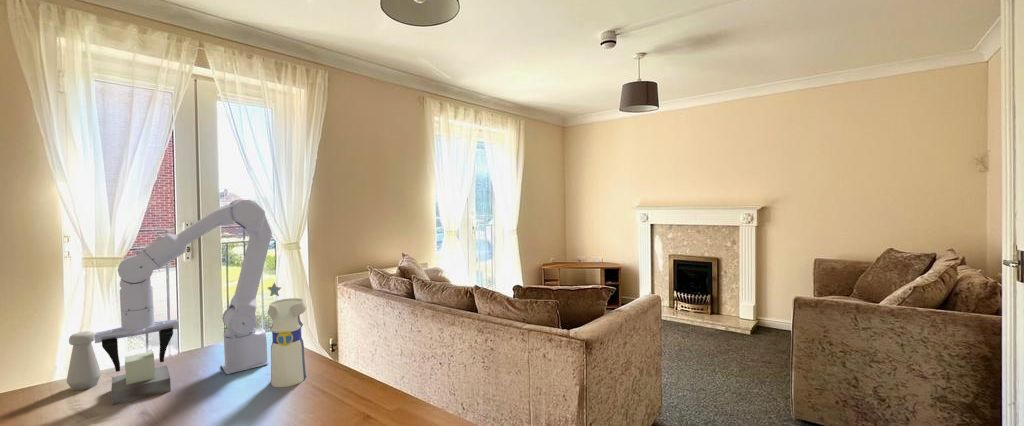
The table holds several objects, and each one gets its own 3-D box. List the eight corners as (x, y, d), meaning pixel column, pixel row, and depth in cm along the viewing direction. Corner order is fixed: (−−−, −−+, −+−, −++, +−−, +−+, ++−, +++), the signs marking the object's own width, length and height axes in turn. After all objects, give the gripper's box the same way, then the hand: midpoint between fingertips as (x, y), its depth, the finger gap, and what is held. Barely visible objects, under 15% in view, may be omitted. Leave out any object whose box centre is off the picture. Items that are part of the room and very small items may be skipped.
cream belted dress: (306, 384, 102) (303, 280, 101) (266, 390, 99) (262, 283, 98) (310, 370, 110) (307, 274, 109) (273, 375, 107) (269, 277, 106)
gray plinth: (167, 377, 107) (166, 365, 107) (170, 390, 100) (170, 378, 99) (112, 389, 100) (112, 377, 100) (112, 405, 93) (111, 391, 93)
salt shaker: (79, 393, 99) (76, 337, 98) (60, 391, 100) (56, 336, 99) (108, 382, 104) (105, 329, 104) (89, 380, 105) (86, 328, 105)
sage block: (154, 371, 103) (153, 351, 103) (155, 378, 99) (154, 357, 99) (126, 377, 100) (125, 356, 100) (126, 384, 96) (124, 362, 96)
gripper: (92, 318, 91) (96, 380, 92) (178, 305, 101) (181, 361, 101) (94, 311, 96) (97, 370, 97) (175, 299, 106) (178, 353, 107)
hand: (140, 365), depth 100 cm, fingers open, 7 cm apart
